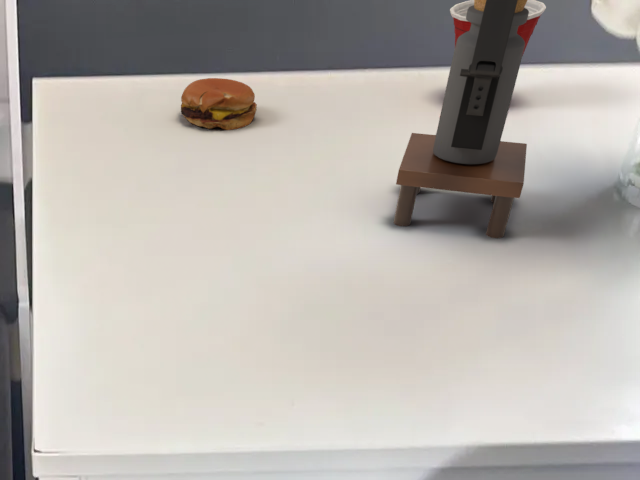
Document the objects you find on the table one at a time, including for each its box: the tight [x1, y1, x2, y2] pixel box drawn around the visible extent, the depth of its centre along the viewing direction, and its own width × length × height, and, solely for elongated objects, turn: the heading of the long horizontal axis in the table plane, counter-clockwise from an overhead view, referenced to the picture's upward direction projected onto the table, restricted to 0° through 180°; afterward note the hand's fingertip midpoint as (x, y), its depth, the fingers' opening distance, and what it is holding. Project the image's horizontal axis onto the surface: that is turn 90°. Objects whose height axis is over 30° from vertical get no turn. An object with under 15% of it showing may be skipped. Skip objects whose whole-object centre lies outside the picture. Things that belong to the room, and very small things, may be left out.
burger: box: [180, 77, 258, 131], centre depth 121 cm, size 10×9×5 cm
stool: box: [393, 132, 528, 239], centre depth 95 cm, size 11×11×6 cm
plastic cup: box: [449, 0, 547, 57], centre depth 120 cm, size 11×11×12 cm
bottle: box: [433, 0, 529, 164], centre depth 88 cm, size 6×6×15 cm
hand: (469, 135), depth 92 cm, fingers closed on bottle, 6 cm apart
